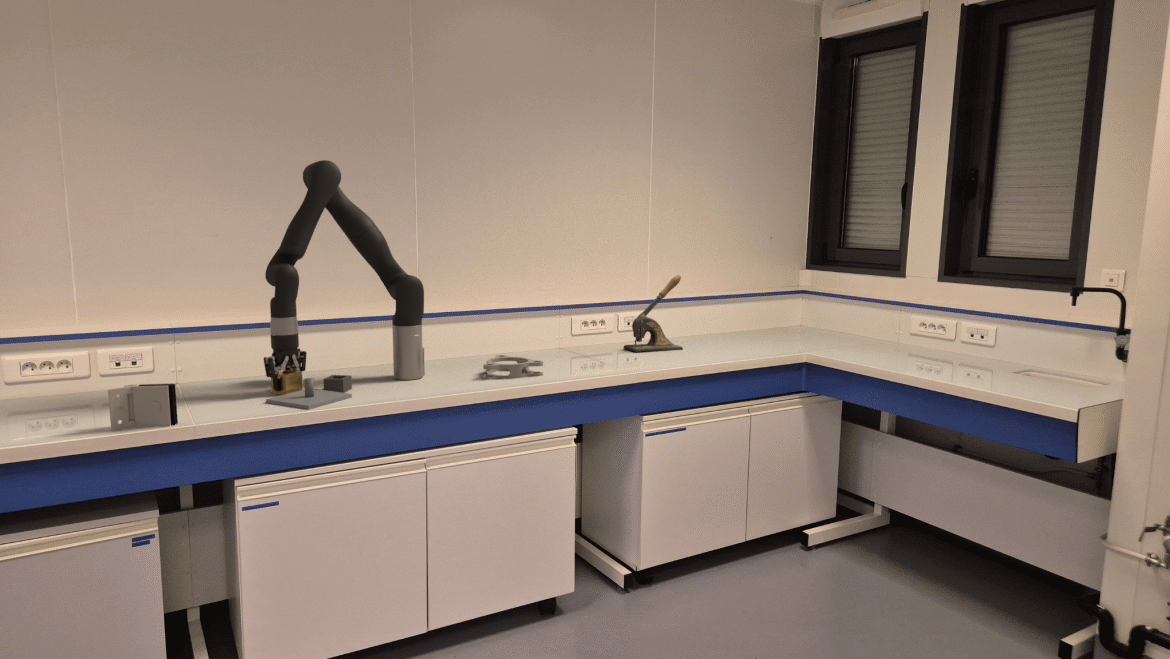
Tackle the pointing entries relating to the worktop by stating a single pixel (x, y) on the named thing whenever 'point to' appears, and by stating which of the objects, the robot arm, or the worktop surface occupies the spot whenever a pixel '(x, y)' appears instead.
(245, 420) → the worktop surface
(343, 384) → the grey hollow square block
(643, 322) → the embossing press
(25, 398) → the worktop surface
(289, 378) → the brass collar
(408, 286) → the robot arm
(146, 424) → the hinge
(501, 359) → the mechanical component
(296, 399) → the post block
